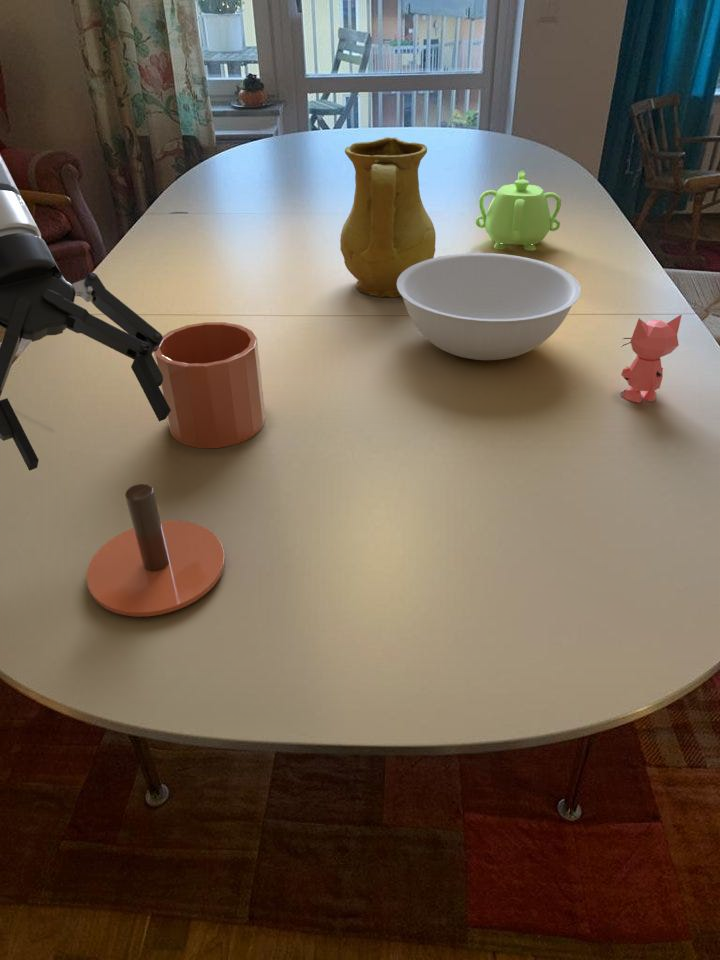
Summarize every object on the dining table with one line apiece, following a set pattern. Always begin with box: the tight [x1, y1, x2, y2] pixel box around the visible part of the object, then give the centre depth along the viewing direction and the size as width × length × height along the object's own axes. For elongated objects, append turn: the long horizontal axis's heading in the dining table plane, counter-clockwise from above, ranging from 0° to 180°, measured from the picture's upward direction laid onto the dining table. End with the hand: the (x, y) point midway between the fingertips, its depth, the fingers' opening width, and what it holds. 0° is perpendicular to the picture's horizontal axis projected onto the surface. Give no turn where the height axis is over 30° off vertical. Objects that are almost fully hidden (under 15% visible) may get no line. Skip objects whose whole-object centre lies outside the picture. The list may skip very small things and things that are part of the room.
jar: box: [153, 321, 266, 449], centre depth 95 cm, size 13×13×12 cm
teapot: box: [475, 169, 562, 252], centre depth 152 cm, size 16×14×13 cm
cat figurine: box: [620, 313, 682, 404], centre depth 98 cm, size 7×7×12 cm
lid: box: [86, 483, 226, 618], centre depth 72 cm, size 14×14×10 cm
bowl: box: [397, 252, 582, 361], centre depth 113 cm, size 27×27×10 cm
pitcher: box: [339, 136, 437, 298], centre depth 129 cm, size 17×19×25 cm
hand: (102, 440), depth 72 cm, fingers open, 13 cm apart
